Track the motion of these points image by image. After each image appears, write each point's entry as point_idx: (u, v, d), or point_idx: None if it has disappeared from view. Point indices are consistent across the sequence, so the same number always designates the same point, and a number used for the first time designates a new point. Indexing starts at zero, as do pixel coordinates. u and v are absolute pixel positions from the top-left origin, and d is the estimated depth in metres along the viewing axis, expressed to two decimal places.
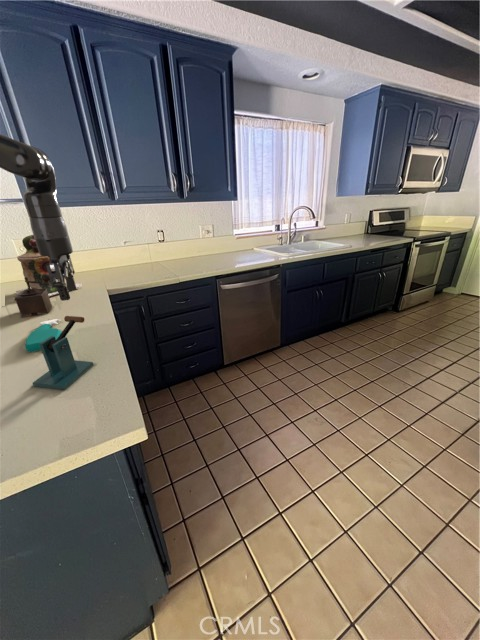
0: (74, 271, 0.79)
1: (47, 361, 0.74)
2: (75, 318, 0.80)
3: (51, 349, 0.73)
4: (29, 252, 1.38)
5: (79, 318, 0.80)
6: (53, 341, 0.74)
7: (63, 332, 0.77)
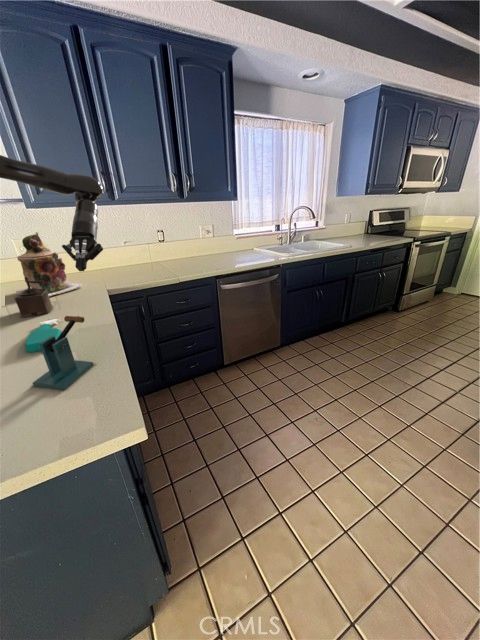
0: None
1: (47, 361, 0.74)
2: (75, 318, 0.80)
3: (51, 349, 0.73)
4: (29, 252, 1.38)
5: (79, 318, 0.80)
6: (53, 341, 0.74)
7: (63, 332, 0.77)
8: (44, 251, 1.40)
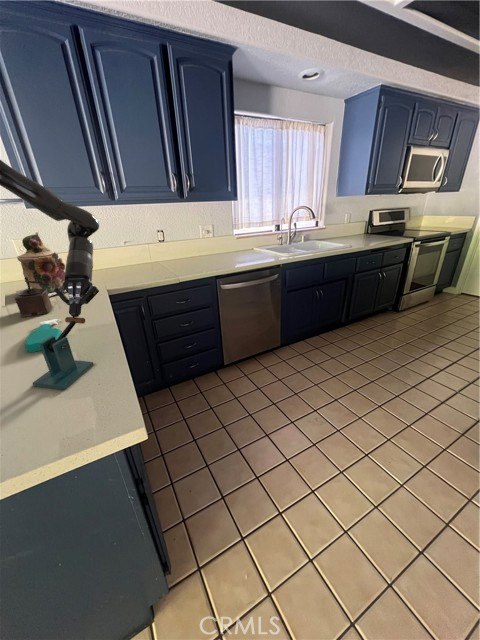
0: None
1: (47, 361, 0.74)
2: (75, 319, 0.80)
3: (51, 349, 0.73)
4: (29, 252, 1.38)
5: (80, 319, 0.80)
6: (53, 341, 0.74)
7: (63, 332, 0.77)
8: (44, 251, 1.40)
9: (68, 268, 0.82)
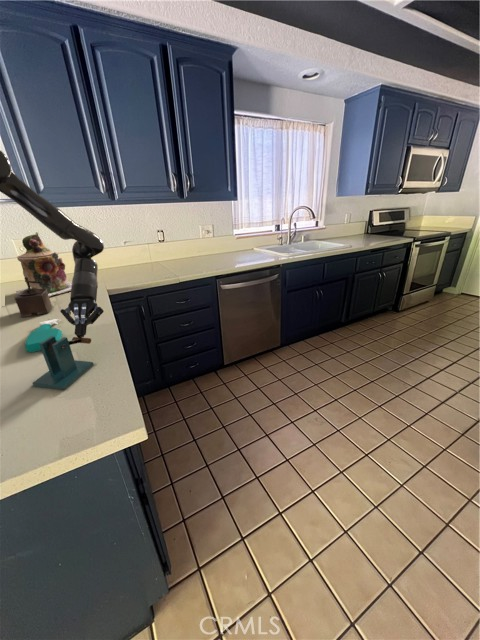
0: None
1: (47, 361, 0.74)
2: (83, 338, 0.84)
3: (50, 345, 0.73)
4: (29, 252, 1.38)
5: (87, 338, 0.84)
6: (56, 341, 0.75)
7: (68, 341, 0.79)
8: (44, 251, 1.40)
9: (74, 290, 0.85)
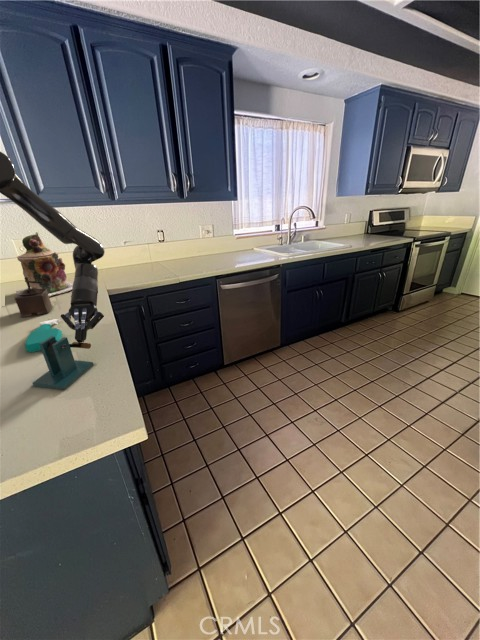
0: None
1: (47, 361, 0.74)
2: None
3: (51, 344, 0.73)
4: (29, 252, 1.38)
5: (87, 343, 0.84)
6: None
7: None
8: (44, 251, 1.40)
9: (74, 295, 0.85)
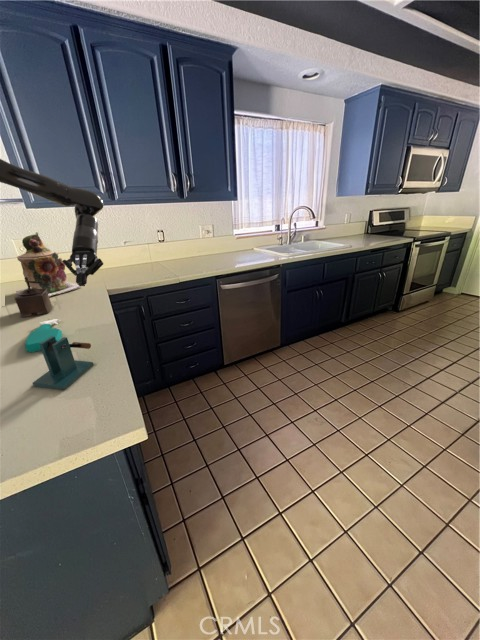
0: None
1: (47, 361, 0.74)
2: None
3: (51, 344, 0.73)
4: (29, 252, 1.38)
5: (87, 343, 0.84)
6: None
7: None
8: (44, 251, 1.40)
9: (75, 241, 0.90)
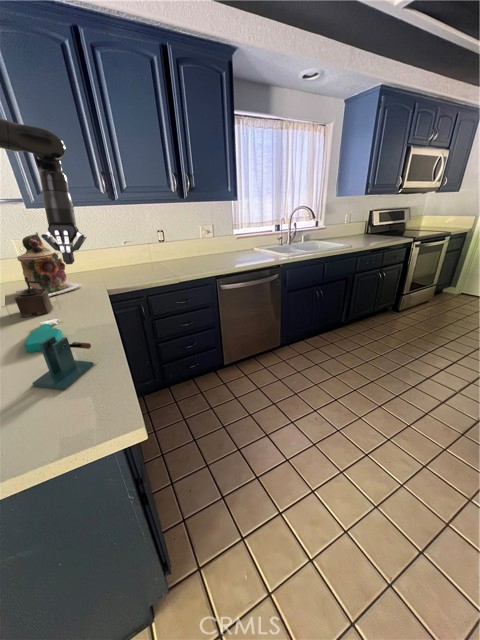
0: None
1: (47, 361, 0.74)
2: None
3: (51, 344, 0.73)
4: (29, 252, 1.38)
5: (87, 343, 0.84)
6: None
7: None
8: (44, 251, 1.40)
9: (50, 215, 0.80)
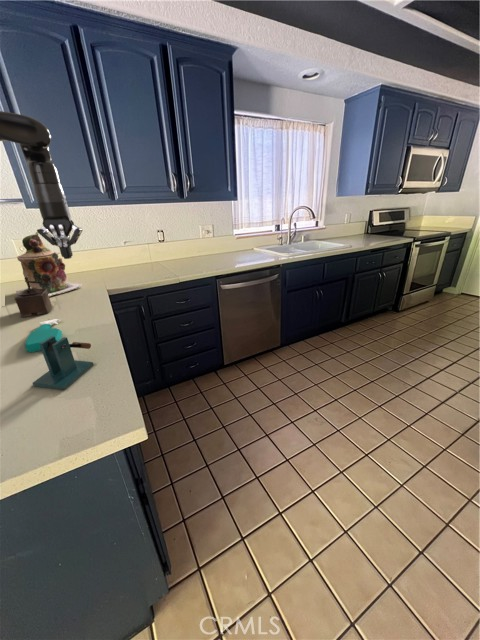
0: None
1: (47, 361, 0.74)
2: None
3: (51, 344, 0.73)
4: (29, 252, 1.38)
5: (87, 343, 0.84)
6: None
7: None
8: (44, 251, 1.40)
9: (43, 210, 0.78)
